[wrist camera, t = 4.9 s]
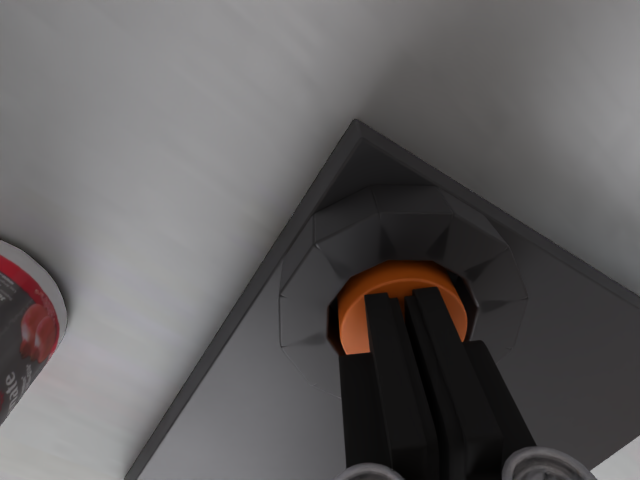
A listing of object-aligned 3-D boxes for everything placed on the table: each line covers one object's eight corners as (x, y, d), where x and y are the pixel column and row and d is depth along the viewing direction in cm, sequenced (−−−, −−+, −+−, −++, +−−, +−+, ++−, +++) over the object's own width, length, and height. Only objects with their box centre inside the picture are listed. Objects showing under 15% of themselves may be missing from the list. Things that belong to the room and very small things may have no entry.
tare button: (378, 221, 11) (389, 256, 9) (471, 273, 12) (495, 315, 10) (315, 305, 12) (315, 349, 11) (403, 348, 13) (415, 395, 11)
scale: (354, 117, 12) (368, 158, 9) (690, 328, 15) (784, 410, 12) (123, 480, 19) (86, 573, 16) (388, 565, 23) (400, 655, 20)
